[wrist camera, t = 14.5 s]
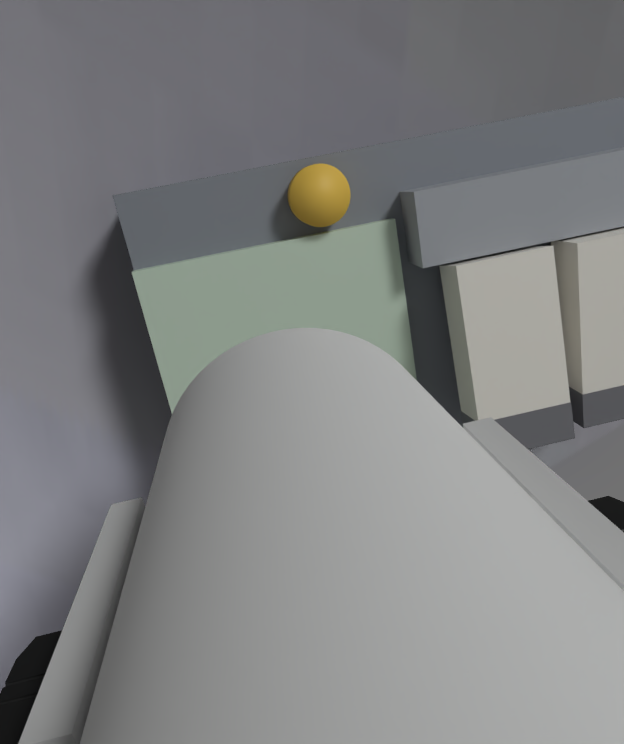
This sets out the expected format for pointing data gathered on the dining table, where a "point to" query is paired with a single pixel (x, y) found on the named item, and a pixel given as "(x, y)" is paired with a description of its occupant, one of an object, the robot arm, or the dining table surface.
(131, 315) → the dining table surface
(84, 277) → the dining table surface
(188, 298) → the panel
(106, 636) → the robot arm
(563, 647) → the cup
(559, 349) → the light grey rectangular block
